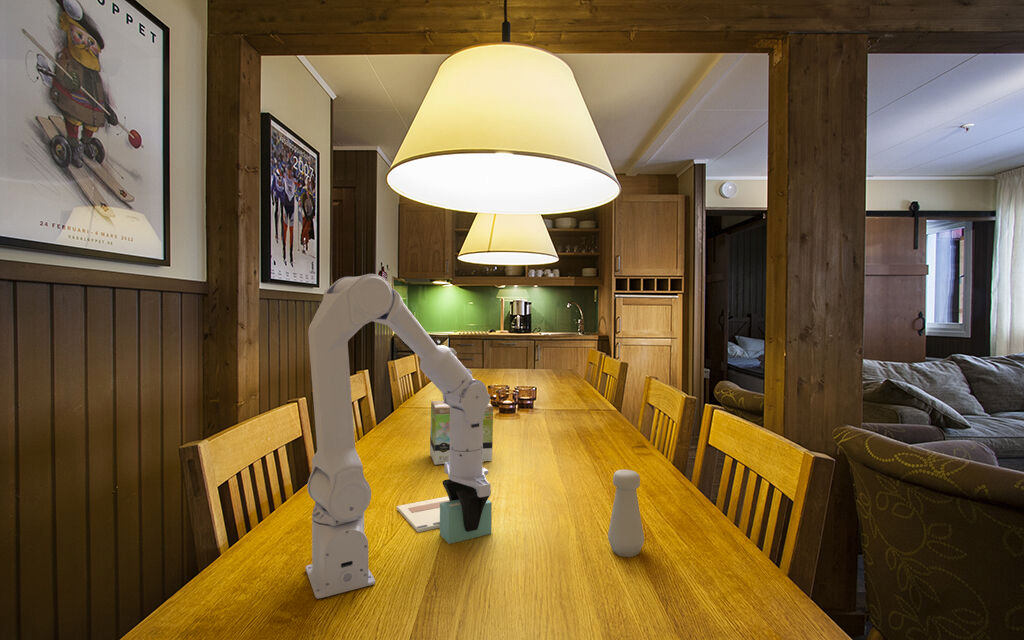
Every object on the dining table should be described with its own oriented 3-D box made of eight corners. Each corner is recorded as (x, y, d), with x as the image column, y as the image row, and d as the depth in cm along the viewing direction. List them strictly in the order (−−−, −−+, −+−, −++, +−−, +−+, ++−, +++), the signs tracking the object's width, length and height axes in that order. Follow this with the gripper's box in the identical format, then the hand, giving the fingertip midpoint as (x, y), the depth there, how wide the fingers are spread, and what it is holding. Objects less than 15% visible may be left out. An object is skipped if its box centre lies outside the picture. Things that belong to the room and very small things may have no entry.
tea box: (434, 466, 127) (434, 407, 127) (429, 455, 137) (429, 400, 137) (493, 462, 131) (493, 404, 131) (484, 451, 141) (485, 398, 141)
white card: (489, 516, 97) (489, 512, 97) (417, 532, 90) (417, 528, 90) (462, 496, 107) (462, 492, 107) (396, 509, 100) (396, 505, 100)
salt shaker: (618, 539, 87) (619, 463, 87) (650, 550, 84) (651, 470, 83) (601, 552, 83) (602, 472, 82) (633, 563, 79) (634, 480, 79)
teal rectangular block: (491, 533, 89) (491, 501, 89) (448, 543, 85) (449, 510, 85) (481, 525, 93) (481, 494, 93) (439, 534, 89) (439, 502, 89)
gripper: (507, 454, 84) (506, 536, 85) (469, 435, 97) (468, 506, 97) (468, 460, 81) (467, 545, 81) (434, 439, 93) (433, 513, 94)
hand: (465, 525), depth 89 cm, fingers closed on teal rectangular block, 4 cm apart
